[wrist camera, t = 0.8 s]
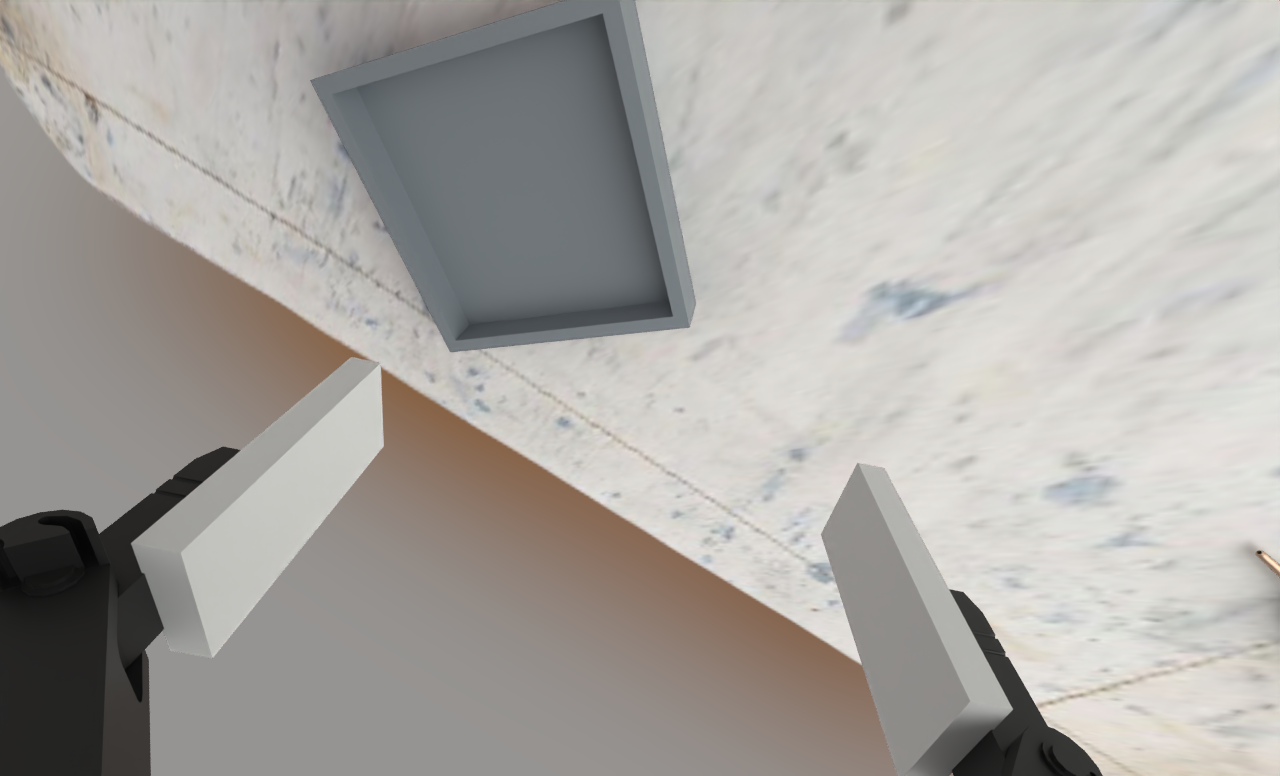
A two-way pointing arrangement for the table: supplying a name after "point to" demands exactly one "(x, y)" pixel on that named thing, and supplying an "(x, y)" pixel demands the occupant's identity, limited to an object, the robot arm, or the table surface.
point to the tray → (523, 176)
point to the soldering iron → (1269, 562)
